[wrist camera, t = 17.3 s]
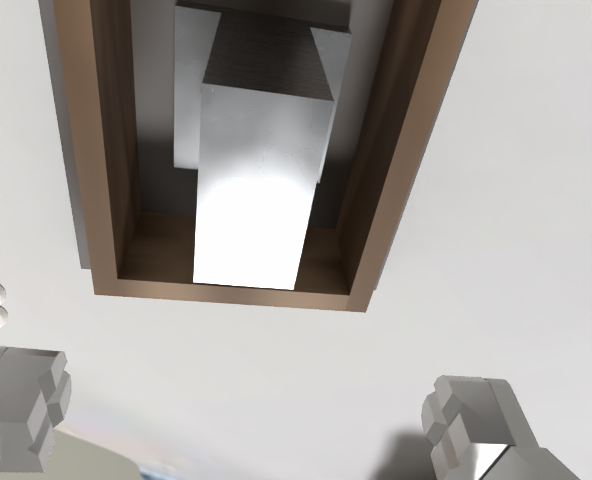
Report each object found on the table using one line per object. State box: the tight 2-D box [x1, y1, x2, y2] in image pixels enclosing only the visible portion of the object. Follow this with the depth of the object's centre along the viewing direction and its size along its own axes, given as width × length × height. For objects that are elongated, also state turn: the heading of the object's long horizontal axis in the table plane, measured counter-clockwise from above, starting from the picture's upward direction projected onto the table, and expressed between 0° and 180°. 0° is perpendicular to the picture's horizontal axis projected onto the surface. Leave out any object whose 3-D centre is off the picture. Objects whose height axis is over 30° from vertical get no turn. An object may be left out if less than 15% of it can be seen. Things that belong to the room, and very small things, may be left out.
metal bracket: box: [174, 0, 353, 289], centre depth 20 cm, size 8×8×10 cm
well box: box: [38, 0, 479, 312], centre depth 23 cm, size 20×26×8 cm
